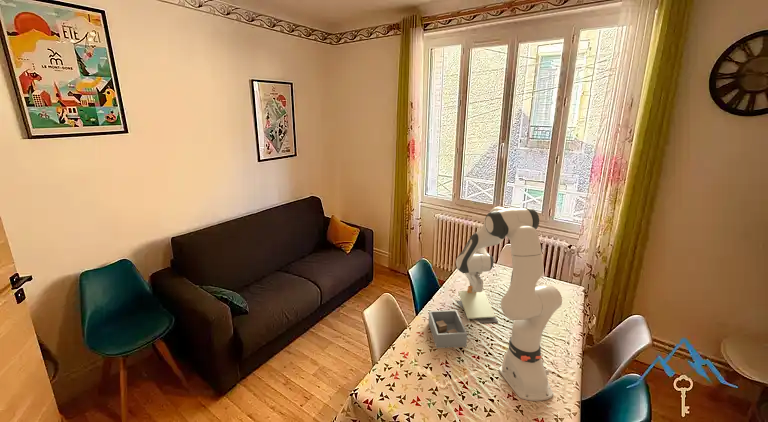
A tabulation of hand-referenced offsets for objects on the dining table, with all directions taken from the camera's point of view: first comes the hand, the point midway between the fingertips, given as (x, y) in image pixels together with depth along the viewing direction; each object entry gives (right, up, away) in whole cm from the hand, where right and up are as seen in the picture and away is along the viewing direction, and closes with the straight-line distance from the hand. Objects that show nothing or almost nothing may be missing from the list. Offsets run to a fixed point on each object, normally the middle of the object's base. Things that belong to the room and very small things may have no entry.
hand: (472, 290), depth 188 cm
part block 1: (-21, -15, -21) cm, 34 cm away
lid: (0, -7, -5) cm, 9 cm away
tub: (-19, -16, -24) cm, 35 cm away
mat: (+1, -10, -5) cm, 12 cm away
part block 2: (-17, -17, -28) cm, 36 cm away
